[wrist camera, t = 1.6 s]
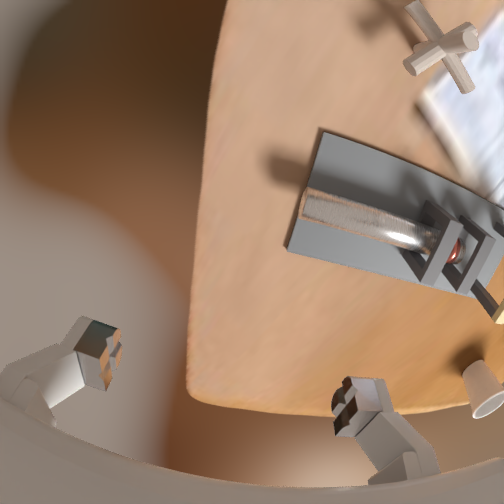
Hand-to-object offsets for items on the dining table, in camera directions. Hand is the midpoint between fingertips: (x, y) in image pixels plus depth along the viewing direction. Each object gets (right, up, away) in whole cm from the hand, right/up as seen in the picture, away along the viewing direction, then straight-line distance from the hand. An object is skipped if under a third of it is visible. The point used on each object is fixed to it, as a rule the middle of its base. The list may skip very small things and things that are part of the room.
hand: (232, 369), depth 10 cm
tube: (+15, +7, +21) cm, 27 cm away
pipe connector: (+19, +26, +13) cm, 34 cm away
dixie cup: (+46, -20, +36) cm, 61 cm away
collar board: (+22, +7, +23) cm, 32 cm away
